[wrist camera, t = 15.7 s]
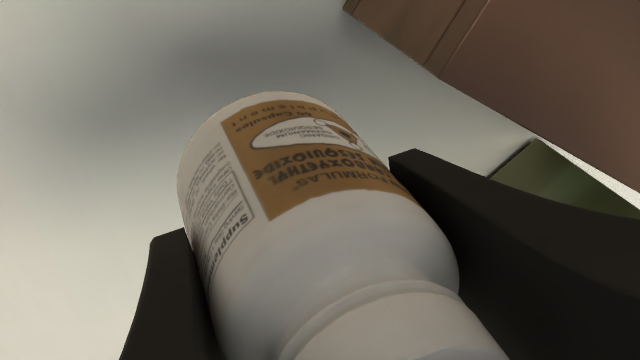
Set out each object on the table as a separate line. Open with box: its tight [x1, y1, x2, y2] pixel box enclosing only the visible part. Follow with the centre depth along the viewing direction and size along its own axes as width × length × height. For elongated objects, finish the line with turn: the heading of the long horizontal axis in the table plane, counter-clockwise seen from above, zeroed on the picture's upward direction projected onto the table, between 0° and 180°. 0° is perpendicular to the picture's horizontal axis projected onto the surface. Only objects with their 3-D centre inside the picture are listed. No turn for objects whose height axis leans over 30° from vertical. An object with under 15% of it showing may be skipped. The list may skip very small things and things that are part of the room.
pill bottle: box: [177, 91, 510, 360], centre depth 11 cm, size 4×4×8 cm
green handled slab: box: [489, 139, 640, 219], centre depth 26 cm, size 6×12×6 cm, turn 127°
